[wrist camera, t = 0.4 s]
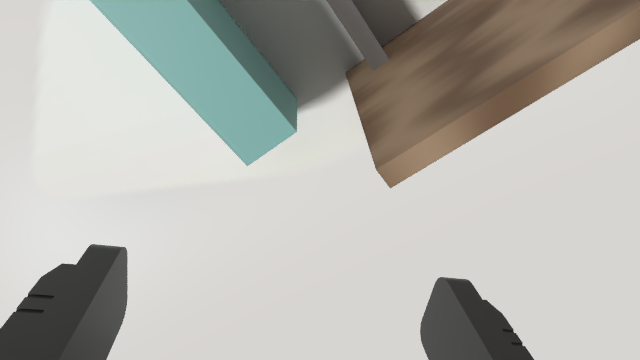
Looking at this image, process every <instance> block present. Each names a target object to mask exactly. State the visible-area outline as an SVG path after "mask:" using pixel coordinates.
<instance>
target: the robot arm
mask: <svg viewBox="0 0 640 360" xmlns="http://www.w3.org/2000/svg"><path fill="white" fill-rule="evenodd" d="M126 305H127V250H126V248H125V247H116V246H105V245H95V244H92V245H90V246H89V247H88V248H87V250H86V252H85V253H84V254H83V256H82V257H81V259H80V260H79V261H78V263H77V264H76V265H73V264H61V265H59V266H58V267H56V268H55V269H53V270H52V271H50V272H48V273H47V274H45V275H44V276H42V277H41V278H40V279H39V281H38V282H37V283H36V285H35V286H34V287H33V288H32V290H31V291H30V292H29V293H28V297H25V298H24V300H23V301H22V302H21V304H20V305H19V306H18V307H17V311H16V312H13V314H12V315H11V316H10V318H9V319H8V320H7V321H6V323H5V324H4V325H3V327H2V328H1V329H0V360H106V359H107V356H108V354H109V352H110V349H111V347H112V345H113V343H114V340H115V338H116V336H117V334H118V332H119V329H120V327H121V325H122V322H123V319H124V315H125V311H126ZM420 332H421V341H422V344H423V347H424V349H425V352H426V354H427V357H428V359H429V360H534V359H533V357H532V356H531V354H530V353H529V352H528V350H527V349H526V347H525V346H522V342H521V340H520V339H519V337H518V336H517V335H516V333H514V332H513V328H512V327H511V326H510V324H509V323H508V321H507V320H506V318H505V317H504V316H503V314H502V313H501V312H499V311H498V310H497V309H496V308H495V307H494V306H492V305H491V304H490V303H489V302H488V301H487V300H482V298H481V297H480V295H479V294H478V292H477V291H476V289H475V288H474V286H473V285H472V283H471V282H470V281H469V280H466V279H455V278H444V277H440V278H438V280H437V281H436V283H435V285H434V288H433V291H432V294H431V296H430V299H429V302H428V305H427V307H426V310H425V313H424V316H423V318H422V322H421V330H420Z"/></svg>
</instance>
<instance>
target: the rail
mask: <svg viewBox="0 0 640 360" xmlns="http://www.w3.org/2000/svg"><path fill="white" fill-rule="evenodd" d="M90 1H91V2H92V3H93V4H94V5H95V6H96V7H97V8H98V9H99V10H100V11H101V12H102V13H103V15H104V16H105V17H106V18H107V19H108V20H109V21H110V22H111V23H112V24H113V25H114V26H115V27H116V28H117V29H118V30H119V31H120V32H121V33H122V35H123V36H124V37H125V38H126V39H127V40H128V41H129V42H130V43H131V44H132V45H133V46H134V47H135V48H136V49H137V50H138V51H139V52H140V53H141V55H142V56H143V57H144V58H145V59H146V60H147V61H148V62H149V63H150V64H151V65H152V66H153V67H154V68H155V69H156V70H157V71H158V72H159V73H160V75H161V76H162V77H163V78H164V79H165V80H166V81H167V82H168V83H169V84H170V85H171V86H172V87H173V88H174V89H175V90H176V91H177V92H178V94H179V95H180V96H181V97H182V98H183V99H184V100H185V101H186V102H187V103H188V104H189V105H190V106H191V107H192V108H193V109H194V110H195V111H196V112H197V114H198V115H199V116H200V117H201V118H202V119H203V120H204V121H205V122H206V123H207V124H208V125H209V126H210V127H211V128H212V129H213V130H214V131H215V132H216V134H217V135H218V136H219V137H220V138H221V139H222V140H223V141H224V142H225V143H226V144H227V145H228V146H229V147H230V148H231V149H232V150H233V151H234V152H235V154H236V155H237V156H238V157H239V158H240V159H241V160H242V161H243V162H244V163H245V164H246V165H247V166H248V165H250V164H251V163H253V162H254V161H255V160H257V159H258V158H260V157H261V156H263V155H264V154H265V153H267V152H268V151H270V150H271V149H273V148H274V147H276V146H277V145H278V144H280V143H281V142H283V141H284V140H286V139H287V138H288V137H290V136H291V135H293V134H294V133H296V132H297V98H296V97H295V96H294V95H293V93H292V92H291V91H290V90H289V88H288V87H287V86H286V85H285V83H284V82H283V81H282V79H281V78H280V77H279V76H278V74H277V73H276V72H275V71H274V69H273V68H272V67H271V66H270V64H269V63H268V62H267V61H266V59H265V58H264V57H263V56H262V54H261V53H260V52H259V51H258V49H257V48H256V47H255V46H254V44H253V43H252V42H251V41H250V39H249V38H248V37H247V36H246V34H245V33H244V32H243V31H242V29H241V28H240V27H239V26H238V24H237V23H236V22H235V21H234V19H233V18H232V17H231V16H230V14H229V13H228V12H227V10H226V9H225V8H224V7H223V5H222V4H221V3H220V2H219V0H90Z"/></svg>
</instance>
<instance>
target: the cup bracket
mask: <svg viewBox="0 0 640 360" xmlns="http://www.w3.org/2000/svg"><path fill="white" fill-rule="evenodd" d="M327 2H328V3H329V5H330V6H331V8H332V9H333V11H334V12H335V14H336V15H337V17H338V18H339V20H340V21H341V23H342V24H343V26H344V27H345V29H346V30H347V32H348V33H349V35H350V36H351V38H352V39H353V41H354V42H355V44H356V45H357V47H358V48H359V50H360V51H361V53H362V54H363V56H364V57H365V60H363V61H362V62H360V63H359V64H358V65H356V66H355V67H353V68H352V69H351V70H349V71H348V72H346V76H347V79H348V82H349V85H350V89H351V92H352V95H353V98H354V101H355V104H356V108H357V111H358V114H359V117H360V120H361V123H362V126H363V130H364V133H365V136H366V139H367V142H368V145H369V149H370V152H371V155H372V158H373V161H374V164H375V168H376V170H377V171H378V173H379V174H380V175H381V177H382V178H383V179H384V181H385V182H386V183H387V185H388V186H389V187H390V188H392V187H393V186H395V185H397V184H398V183H400V182H402V181H403V180H405V179H407V178H408V177H410V176H412V175H413V174H415V173H417V172H418V171H420V170H422V169H423V168H425V167H427V166H428V165H430V164H432V163H433V162H435V161H437V160H438V159H440V158H442V157H443V156H445V155H447V154H448V153H450V152H452V151H453V150H455V149H457V148H458V147H460V146H462V145H463V144H465V143H466V142H468V141H470V140H472V139H473V138H475V137H477V136H478V135H480V134H482V133H483V132H485V131H487V130H488V129H490V128H492V127H493V126H495V125H497V124H498V123H500V122H502V121H503V120H505V119H507V118H508V117H510V116H512V115H513V114H515V113H517V112H519V111H520V110H522V109H523V108H525V107H527V106H528V105H530V104H532V103H534V102H535V101H537V100H538V99H540V98H542V97H544V96H545V95H547V94H548V93H550V92H552V91H553V90H555V89H557V88H558V87H560V86H562V85H564V84H565V83H567V82H569V81H570V80H572V79H574V78H575V77H577V76H578V75H580V74H582V73H583V72H585V71H587V70H589V69H590V68H592V67H593V66H595V65H597V64H599V63H600V62H601V61H604V60H605V59H607V58H609V57H610V56H612V55H613V54H615V53H617V52H618V51H620V50H622V49H623V48H625V47H627V46H629V45H630V44H632V43H633V42H635V41H637V40H639V39H640V0H448V1H447V2H445V3H444V4H442V5H441V6H439V7H438V8H437V9H435V10H434V11H432V12H431V13H430V14H428V15H427V16H425V17H424V18H423V19H421V20H420V21H418V22H417V23H416V24H414V25H413V26H411V27H410V28H408V29H407V30H406V31H404V32H403V33H401V34H400V35H399V36H397V37H396V38H394V39H393V40H392V41H390V42H389V43H387V44H386V45H384V46H383V47H381V46H380V44H379V43H378V41H377V39H376V38H375V36H374V35H373V33H372V32H371V30H370V28H369V27H368V25H367V24H366V22H365V20H364V19H363V17H362V16H361V14H360V13H359V11H358V9H357V8H356V6H355V5H354V3H353V1H352V0H327Z"/></svg>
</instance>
